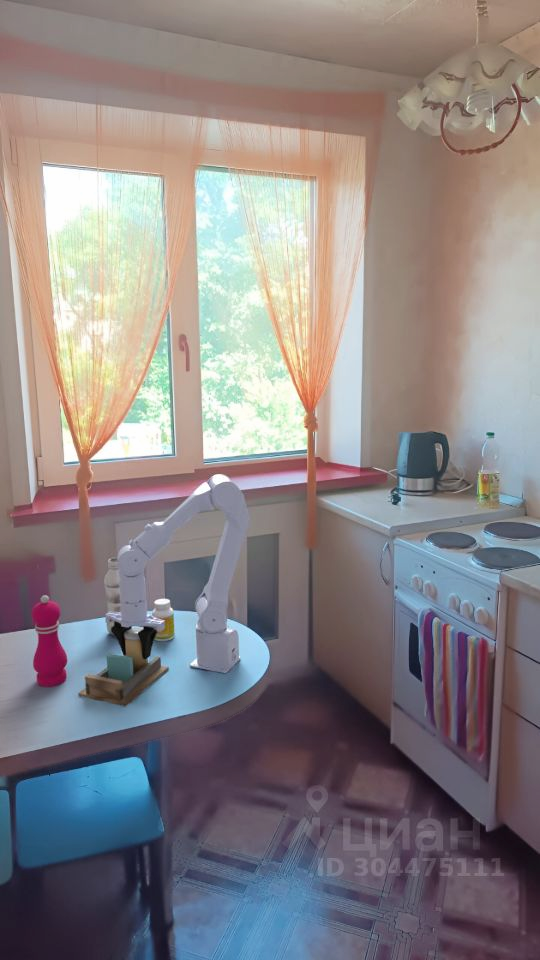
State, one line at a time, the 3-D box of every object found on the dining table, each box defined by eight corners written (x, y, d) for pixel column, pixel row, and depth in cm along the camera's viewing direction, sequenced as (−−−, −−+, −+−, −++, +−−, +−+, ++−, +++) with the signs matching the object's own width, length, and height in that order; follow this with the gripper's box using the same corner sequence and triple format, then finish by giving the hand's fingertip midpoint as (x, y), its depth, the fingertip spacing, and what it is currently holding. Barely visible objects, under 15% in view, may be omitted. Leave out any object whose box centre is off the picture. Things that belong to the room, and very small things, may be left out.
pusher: (133, 683, 141) (132, 657, 140) (131, 685, 140) (129, 659, 139) (111, 678, 144) (109, 653, 142) (108, 680, 143) (106, 655, 141)
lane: (168, 669, 149) (167, 651, 148) (125, 706, 134) (124, 686, 133) (124, 660, 153) (123, 643, 153) (78, 695, 138) (76, 676, 137)
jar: (152, 662, 149) (151, 629, 148) (140, 672, 145) (138, 638, 143) (134, 658, 151) (132, 626, 149) (121, 668, 146) (119, 635, 145)
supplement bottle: (172, 641, 163) (171, 605, 161) (151, 642, 163) (149, 605, 161) (176, 632, 168) (174, 597, 167) (155, 632, 169) (153, 597, 167)
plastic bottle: (123, 626, 173) (119, 554, 169) (137, 633, 168) (133, 559, 164) (102, 633, 169) (97, 560, 165) (116, 641, 164) (111, 565, 160)
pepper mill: (75, 674, 147) (68, 591, 143) (55, 690, 140) (47, 603, 136) (48, 670, 149) (41, 588, 146) (27, 685, 143) (19, 599, 139)
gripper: (95, 601, 144) (99, 657, 146) (151, 609, 138) (154, 668, 141) (114, 590, 150) (118, 644, 153) (168, 598, 145) (171, 654, 147)
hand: (136, 655), depth 147 cm, fingers closed on jar, 5 cm apart
